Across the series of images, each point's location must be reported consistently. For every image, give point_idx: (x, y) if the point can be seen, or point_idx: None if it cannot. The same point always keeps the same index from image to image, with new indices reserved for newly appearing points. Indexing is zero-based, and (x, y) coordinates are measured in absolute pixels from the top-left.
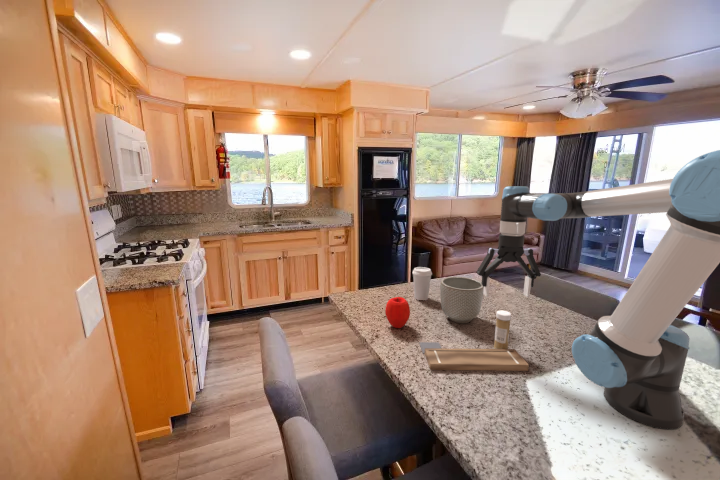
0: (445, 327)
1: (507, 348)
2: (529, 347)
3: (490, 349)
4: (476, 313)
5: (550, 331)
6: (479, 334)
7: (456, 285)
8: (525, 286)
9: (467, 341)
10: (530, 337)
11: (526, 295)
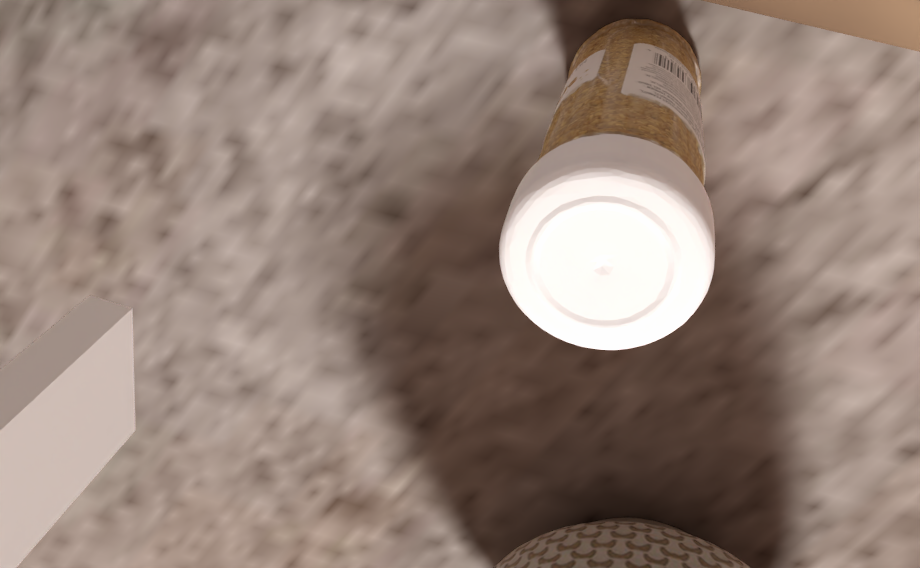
0: (872, 520)
1: (594, 39)
2: (342, 43)
3: (843, 19)
4: (566, 550)
5: (23, 223)
6: (647, 344)
7: None
8: (10, 530)
9: (859, 277)
10: (233, 186)
11: (120, 352)
